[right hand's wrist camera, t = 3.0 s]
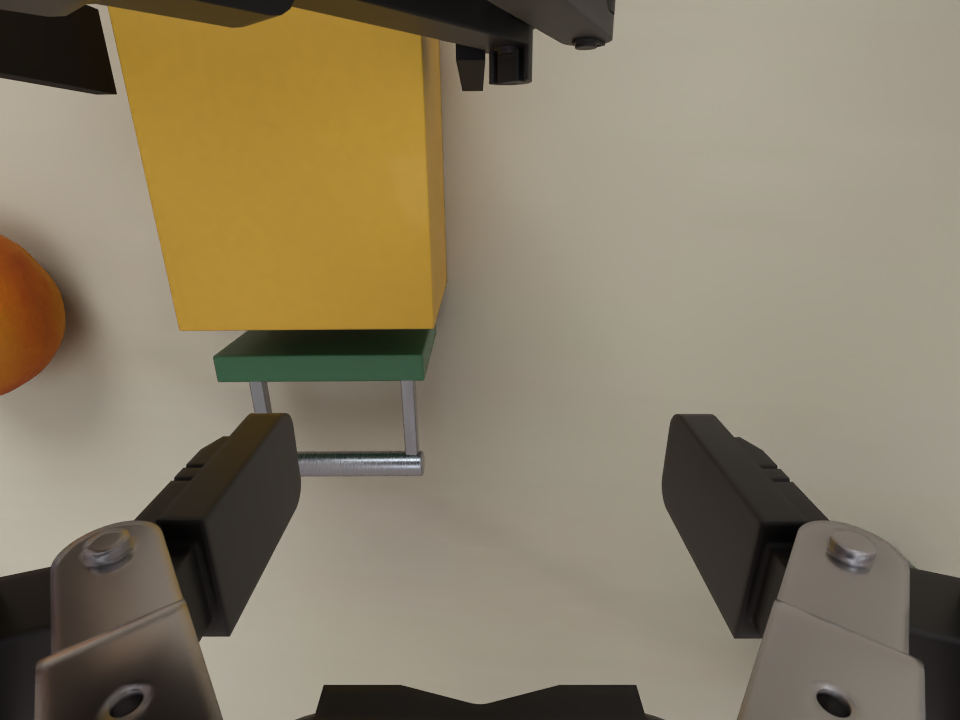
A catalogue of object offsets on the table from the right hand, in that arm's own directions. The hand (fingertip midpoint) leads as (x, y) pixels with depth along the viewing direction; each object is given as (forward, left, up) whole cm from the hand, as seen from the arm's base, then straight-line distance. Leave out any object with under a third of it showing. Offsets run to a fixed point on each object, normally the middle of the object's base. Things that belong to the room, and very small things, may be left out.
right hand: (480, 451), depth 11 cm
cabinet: (+6, +7, -18) cm, 20 cm away
